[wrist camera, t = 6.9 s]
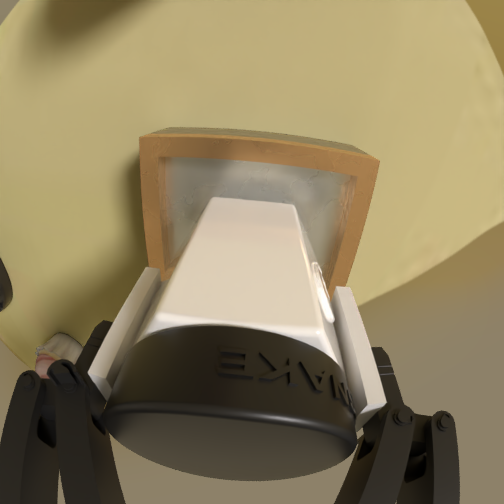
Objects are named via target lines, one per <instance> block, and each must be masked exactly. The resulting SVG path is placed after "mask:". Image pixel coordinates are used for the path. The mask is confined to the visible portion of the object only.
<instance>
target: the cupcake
mask: <svg viewBox="0 0 504 504" xmlns="http://www.w3.org/2000/svg"><path fill="white" fill-rule="evenodd" d="M36 349H37V352H35V353H36V355H37V356H38V357H37V359H36V367H35V372H37V374H38V375H39V376H40V377H41V378H48V379H50V378H49V377H48V376H47V374H46V373H47V370H48V368H49V366H50V365H51V364H52V363H53V362H55V361H56V360H60V359H67V360H69V361H71V362H72V363H73V364H74V365H75V363H76V361H77V359H78V357H79V355H80V354H81V352H82V350H83V347H82V346H81V345H80V344H79V343H78V342H77V341H76V340H74V339H73V338H71V337H70V336H68V335H66V334H63V333H58V334H55V335H54V336H53V337H52V338H51V339H50V340H48V341H47V342H46V343H45V344H43V345H40V346H38V347H37V348H36Z"/></svg>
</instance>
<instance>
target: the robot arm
mask: <svg viewBox="0 0 504 504" xmlns="http://www.w3.org/2000/svg"><path fill="white" fill-rule="evenodd" d="M160 284H161V274H160V269H159V268H151V267H146V268H145V269H144V271H143V273H142V274H141V276H140V278H139V279H138V281H137V282H136V284H135V286H134V287H133V289H132V291H131V293H130V294H129V296H128V298H127V299H126V301H125V303H124V305H123V306H122V308H121V310H120V312H119V313H118V315H117V317H116V319H115V321H114V322H110V321H105V320H103V321H102V322H101V323H100V324H98V325H97V326H96V327H95V329H94V330H93V332H92V334H91V336H90V338H89V339H88V341H87V344H86V345H85V346H84V348H83V350H82V352H81V354H80V355H79V357H78V359H77V361H76V363H75V365H74V364H73V363H72V362H71V361H69V360H67V359H60V360H56V361H55V362H53V363H52V364H51V365H50V366H49V368H48V370H47V373H46V374H47V376H48V377H49V378H50V379H48V378H41V377H40V376H39V375H38V374H37V372H35V371H33V370H28V371H26V372H23V373H22V374H21V375H20V376H19V378H18V380H17V383H16V386H15V389H14V392H13V395H12V398H11V402H10V405H9V409H8V412H7V416H6V420H5V424H4V428H3V433H2V437H1V442H0V504H57V497H58V477H59V469H60V476H61V482H62V487H63V493H64V498H65V503H66V504H126V503H125V500H124V497H123V493H122V490H121V486H120V482H119V479H118V474H117V470H116V466H115V461H114V457H113V452H112V446H111V441H110V435H109V432H108V430H107V429H106V427H105V425H104V422H103V412H104V410H105V409H104V407H105V405H106V402H108V399H109V396H110V394H111V391H112V389H113V386H114V384H115V381H116V379H117V376H118V374H119V371H120V369H121V367H122V364H123V362H124V359H125V357H126V355H127V353H128V352H129V350H130V348H131V346H132V344H133V342H134V339H135V337H136V335H137V333H138V330H139V328H140V326H141V324H142V322H143V319H144V317H145V315H146V313H147V311H148V309H149V307H150V305H151V302H152V300H153V298H154V296H155V294H156V292H157V290H158V288H159V286H160ZM11 300H12V288H11V284H10V280H9V277H8V275H7V272H6V270H5V268H4V265H3V263H2V261H1V259H0V312H1V311H2V310H4V309H5V308H6V306H7V305H8V304H9V303H10V301H11ZM331 305H332V308H333V312H334V316H335V320H334V323H335V327H336V332H337V336H338V340H339V344H340V349H341V353H342V358H343V362H344V367H345V371H346V376H347V381H348V386H349V390H350V392H351V394H352V398H353V403H354V408H355V413H356V425H355V429H356V432H358V431H359V430H360V429H361V428H362V427H363V432H364V434H363V435H362V436H361V437H360V438H359V439H357V444H358V443H359V444H358V447H357V450H356V452H355V455H354V458H353V461H352V463H351V466H350V468H349V471H348V473H347V476H346V478H345V481H344V483H343V485H342V487H341V490H340V492H339V494H338V496H337V498H336V501H335V503H334V504H395V503H396V500H397V504H459V500H460V498H459V497H460V481H459V480H460V477H459V457H458V445H457V436H456V428H455V422H454V419H453V417H452V416H451V414H450V413H448V412H446V411H438V412H436V413H435V414H434V415H433V416H426V415H419V414H415V413H414V412H413V411H412V410H411V409H410V408H409V407H407V406H406V405H404V403H403V400H402V397H401V393H400V390H399V387H398V384H397V381H396V377H395V375H394V371H393V368H392V367H391V363H390V359H389V357H388V355H387V353H386V352H385V351H384V350H383V348H382V347H370V343H369V340H368V337H367V334H366V331H365V328H364V325H363V322H362V319H361V316H360V313H359V311H358V308H357V305H356V302H355V299H354V297H353V294H352V291H351V289H350V287H340V286H336V288H335V291H334V294H333V297H332V300H331Z"/></svg>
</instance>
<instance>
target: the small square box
mask: <svg viewBox="0 0 504 504" xmlns="http://www.w3.org/2000/svg"><path fill="white" fill-rule="evenodd" d="M139 144H140V177H141V195H142V209H143V220H144V230H145V240H146V248H147V256H148V264H149V267H151V268H159V269H160V274H161V281H162V279H163V277H164V275H165V273H166V271H167V269H168V267H169V265H170V263H171V261H172V259H173V257H174V255H175V254H176V252H177V250H178V248H179V247H180V245H181V244H182V242H183V240H184V239H185V237H186V236H187V234H188V232H189V231H190V229H191V228H192V226H193V224H194V223H195V221H196V220H197V218H198V217H199V215H200V213H201V212H202V210H203V209H204V207H205V206H206V204H207V203H208V201H209V200H210V199H211V198H212V197H221V198H233V199H245V200H256V201H266V202H276V203H285V204H292V205H294V206H295V208H296V210H297V212H298V215H299V217H300V219H301V222H302V224H303V226H304V229H305V231H306V234H307V236H308V239H309V241H310V244H311V246H312V249H313V251H314V254H315V256H316V259H317V261H318V264H319V266H320V268H321V271H322V276H323V279H324V281H325V285H326V289H327V292H328V295H329V297H330V302H331V300H332V297H333V294H334V291H335V288H336V286H340V287H345V286H346V283H347V280H348V277H349V274H350V271H351V268H352V265H353V262H354V259H355V255H356V252H357V249H358V246H359V242H360V239H361V235H362V232H363V228H364V225H365V221H366V218H367V214H368V210H369V206H370V202H371V198H372V194H373V190H374V186H375V182H376V177H377V173H378V168H379V163H380V161H379V160H378V159H376V158H374V157H372V156H371V155H369V154H367V153H365V152H364V151H362V150H360V149H358V148H356V147H354V146H352V145H347V144H342V143H337V142H332V141H326V140H321V139H315V138H308V137H301V136H294V135H287V134H279V133H270V132H260V131H249V130H236V129H219V128H186V127H170V128H166V129H163V130H160V131H157V132H154V133H151V134H148V135H145V136H142V137H139Z"/></svg>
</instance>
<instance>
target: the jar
mask: <svg viewBox="0 0 504 504" xmlns="http://www.w3.org/2000/svg"><path fill="white" fill-rule="evenodd" d="M334 320H335V316H334V312H333V308H332V305H331V302H330V297H329V295H328V292H327V289H326V285H325V281H324V279H323V276H322V271H321V268H320V266H319V264H318V261H317V259H316V256H315V254H314V251H313V249H312V246H311V244H310V241H309V239H308V236H307V234H306V231H305V229H304V226H303V224H302V222H301V219H300V217H299V215H298V212H297V210H296V208H295V206H294V205H292V204H285V203H276V202H266V201H256V200H245V199H233V198H221V197H212V198H211V199H210V200H209V201H208V203H207V204H206V206H205V207H204V209H203V210H202V212H201V213H200V215H199V217H198V218H197V220H196V221H195V223H194V224H193V226H192V228H191V229H190V231H189V232H188V234H187V236H186V237H185V239H184V240H183V242H182V244H181V245H180V247H179V248H178V250H177V252H176V254H175V255H174V257H173V259H172V261H171V263H170V265H169V267H168V269H167V271H166V273H165V275H164V277H163V279H162V281H161V284H160V286H159V288H158V290H157V292H156V294H155V296H154V298H153V300H152V302H151V305H150V307H149V309H148V311H147V313H146V315H145V317H144V319H143V322H142V324H141V326H140V328H139V330H138V333H137V335H136V337H135V339H134V342H133V344H132V346H131V348H130V350H129V352H128V353H127V355H126V357H125V359H124V362H123V364H122V367H121V369H120V371H119V374H118V376H117V379H116V381H115V384H114V386H113V389H112V391H111V394H110V396H109V399H108V402H107V404H106V407H105V410H104V412H103V422H104V425H105V427H106V429H107V430H108V432H109V433H110V434H111V435H112V436H113V437H114V438H115V439H116V440H117V441H118V442H120V443H121V444H122V445H123V446H125V447H126V448H128V449H129V450H131V451H133V452H135V453H136V454H138V455H140V456H142V457H144V458H146V459H148V460H151V461H153V462H155V463H158V464H160V465H163V466H166V467H169V468H172V469H175V470H179V471H182V472H186V473H190V474H194V475H199V476H204V477H210V478H217V479H225V480H239V481H266V480H267V481H268V480H281V479H288V478H295V477H300V476H305V475H309V474H313V473H316V472H320V471H323V470H326V469H328V468H331V467H333V466H335V465H337V464H339V463H341V462H342V461H344V460H345V459H346V458H348V457H349V456H350V455H351V454H352V453H353V452H354V450H355V448H356V445H357V435H356V429H355V425H356V413H355V408H354V403H353V398H352V394H351V392H350V390H349V386H348V381H347V376H346V371H345V367H344V362H343V358H342V353H341V349H340V344H339V340H338V336H337V332H336V327H335V323H334Z"/></svg>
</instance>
